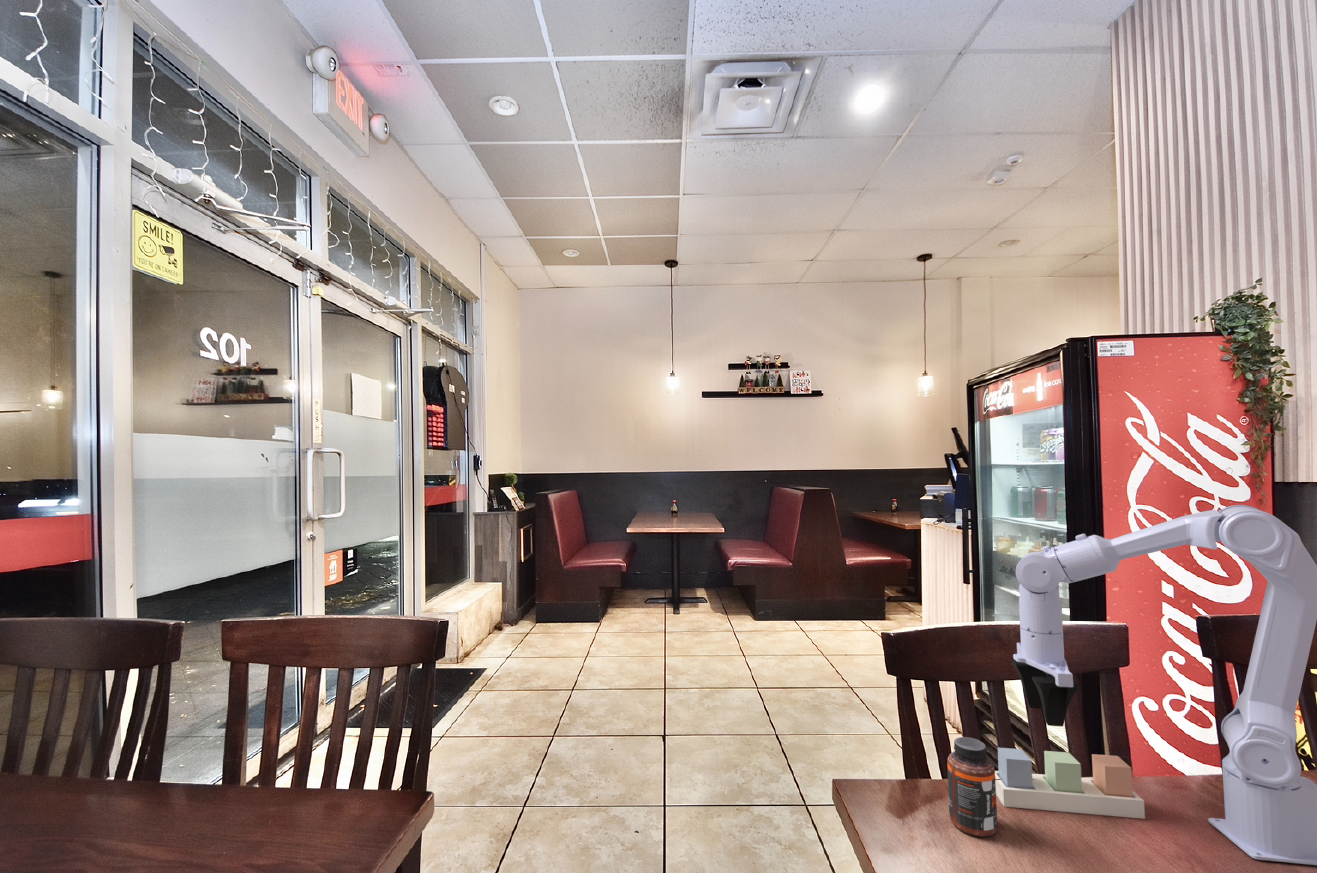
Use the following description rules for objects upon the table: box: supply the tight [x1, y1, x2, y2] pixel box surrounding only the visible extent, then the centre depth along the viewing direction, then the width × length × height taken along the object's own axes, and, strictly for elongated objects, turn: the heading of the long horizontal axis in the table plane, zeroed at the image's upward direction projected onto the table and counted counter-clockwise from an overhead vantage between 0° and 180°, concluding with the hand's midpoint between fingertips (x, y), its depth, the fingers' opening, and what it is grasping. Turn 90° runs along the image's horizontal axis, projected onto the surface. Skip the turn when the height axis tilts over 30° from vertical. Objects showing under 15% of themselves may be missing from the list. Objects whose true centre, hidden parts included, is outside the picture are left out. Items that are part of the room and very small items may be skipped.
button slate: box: [997, 747, 1033, 789], centre depth 87 cm, size 3×3×4 cm
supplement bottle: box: [947, 736, 998, 837], centre depth 81 cm, size 6×6×11 cm
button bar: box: [995, 770, 1146, 820], centre depth 86 cm, size 18×5×2 cm, turn 79°
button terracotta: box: [1091, 753, 1134, 798], centre depth 85 cm, size 3×3×4 cm
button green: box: [1043, 750, 1082, 793], centre depth 86 cm, size 3×3×4 cm
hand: (1045, 716), depth 91 cm, fingers open, 6 cm apart
